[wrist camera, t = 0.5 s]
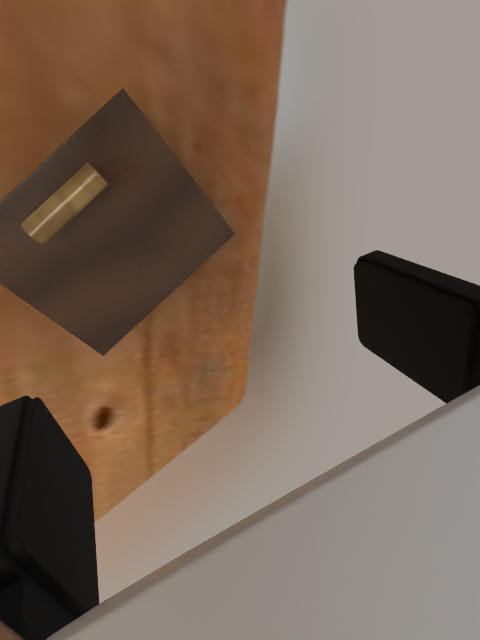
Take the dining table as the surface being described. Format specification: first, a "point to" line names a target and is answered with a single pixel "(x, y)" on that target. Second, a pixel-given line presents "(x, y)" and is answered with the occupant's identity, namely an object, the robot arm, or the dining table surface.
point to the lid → (106, 227)
